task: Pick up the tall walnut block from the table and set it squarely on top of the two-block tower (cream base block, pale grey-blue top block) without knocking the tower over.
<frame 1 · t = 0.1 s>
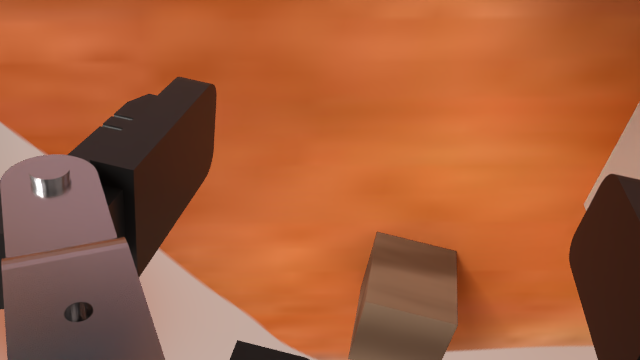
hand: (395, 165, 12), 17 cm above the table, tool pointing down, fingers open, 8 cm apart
walnut block: (406, 269, 36), on the table
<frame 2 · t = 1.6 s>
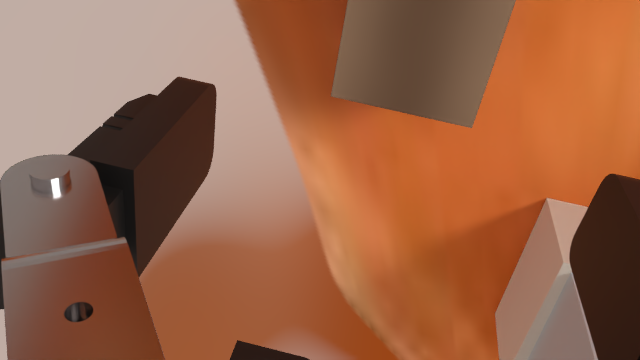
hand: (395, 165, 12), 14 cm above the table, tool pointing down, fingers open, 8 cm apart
tower top: (622, 348, 25), point 5 cm above the table, touching tower base
tower base: (596, 275, 29), on the table, touching tower top
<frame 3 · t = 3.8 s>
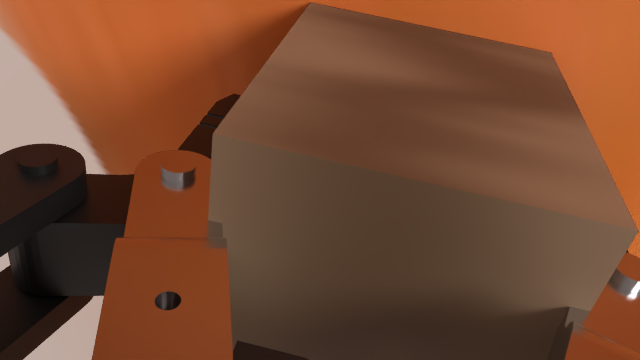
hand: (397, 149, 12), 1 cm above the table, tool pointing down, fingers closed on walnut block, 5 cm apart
walnut block: (401, 133, 13), on the table, touching gripper
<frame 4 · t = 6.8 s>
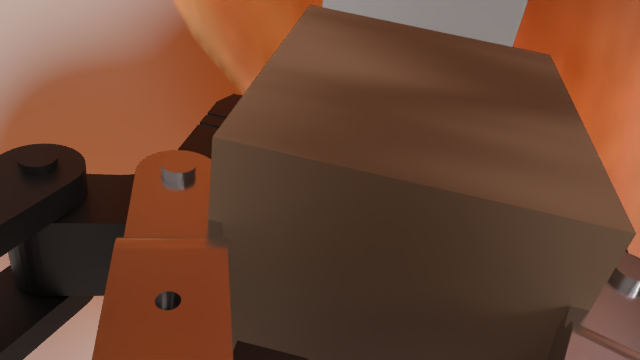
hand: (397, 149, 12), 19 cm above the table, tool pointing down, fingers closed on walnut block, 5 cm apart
walnut block: (400, 134, 13), point 19 cm above the table, touching gripper
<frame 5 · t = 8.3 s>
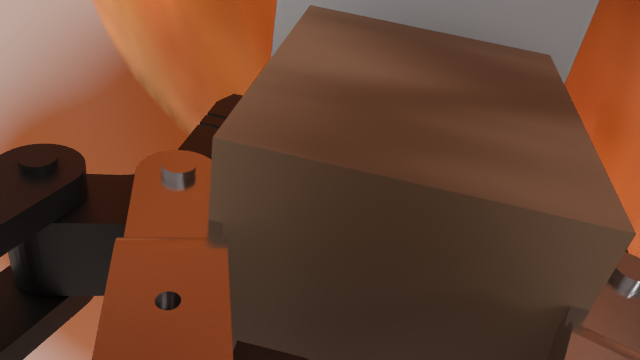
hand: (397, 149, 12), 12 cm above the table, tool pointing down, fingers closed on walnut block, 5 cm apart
tower top: (412, 38, 18), point 5 cm above the table
walnut block: (400, 134, 13), point 11 cm above the table, touching gripper
when the fingers open (12 cm above the table, at t = 9.0 s): walnut block drops 1 cm, resting on tower top.
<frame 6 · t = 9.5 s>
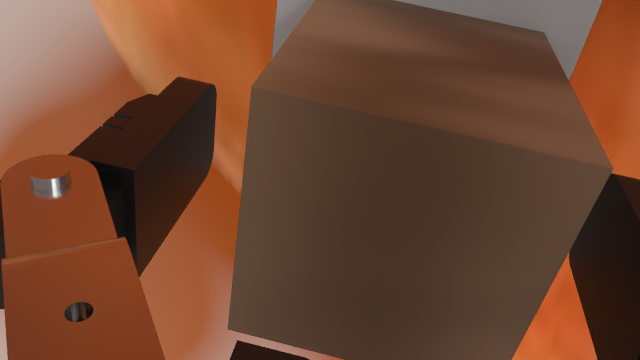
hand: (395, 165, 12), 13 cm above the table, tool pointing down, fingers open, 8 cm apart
tower top: (414, 39, 18), point 5 cm above the table, touching tower base, walnut block
walnut block: (406, 107, 14), point 10 cm above the table, touching tower top
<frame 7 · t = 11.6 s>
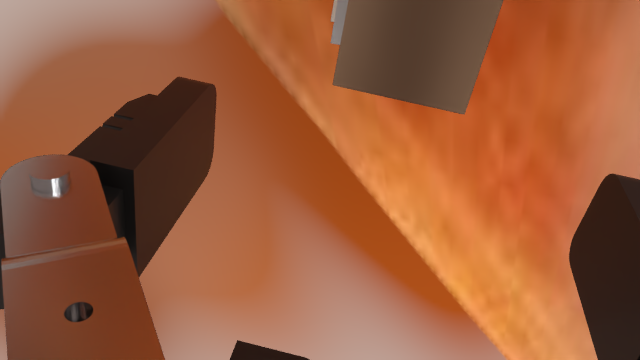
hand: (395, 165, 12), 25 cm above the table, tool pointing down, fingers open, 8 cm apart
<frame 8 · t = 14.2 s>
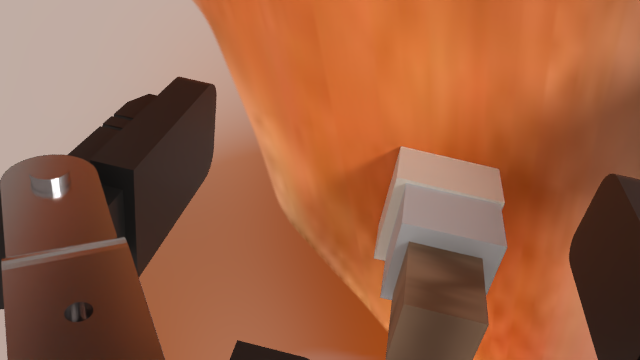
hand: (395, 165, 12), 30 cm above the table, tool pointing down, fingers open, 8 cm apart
tower top: (440, 230, 43), point 5 cm above the table, touching tower base, walnut block
walnut block: (435, 277, 39), point 10 cm above the table, touching tower top
tower base: (436, 196, 47), on the table, touching tower top
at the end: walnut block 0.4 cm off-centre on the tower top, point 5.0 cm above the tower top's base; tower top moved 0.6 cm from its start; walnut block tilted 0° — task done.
